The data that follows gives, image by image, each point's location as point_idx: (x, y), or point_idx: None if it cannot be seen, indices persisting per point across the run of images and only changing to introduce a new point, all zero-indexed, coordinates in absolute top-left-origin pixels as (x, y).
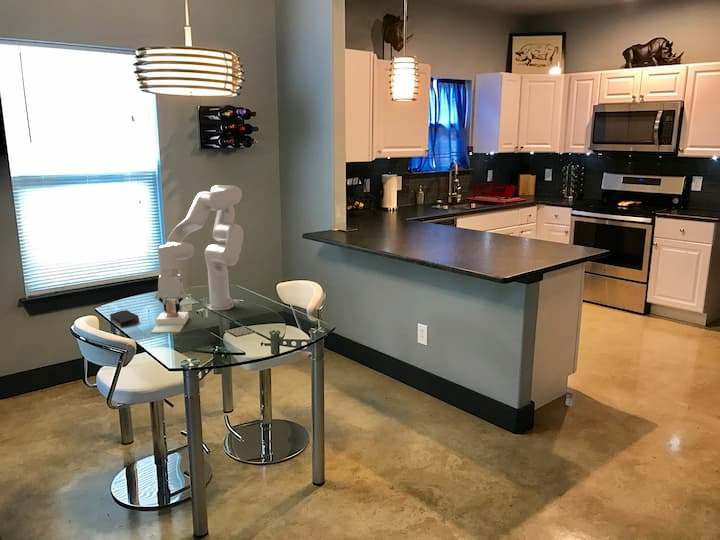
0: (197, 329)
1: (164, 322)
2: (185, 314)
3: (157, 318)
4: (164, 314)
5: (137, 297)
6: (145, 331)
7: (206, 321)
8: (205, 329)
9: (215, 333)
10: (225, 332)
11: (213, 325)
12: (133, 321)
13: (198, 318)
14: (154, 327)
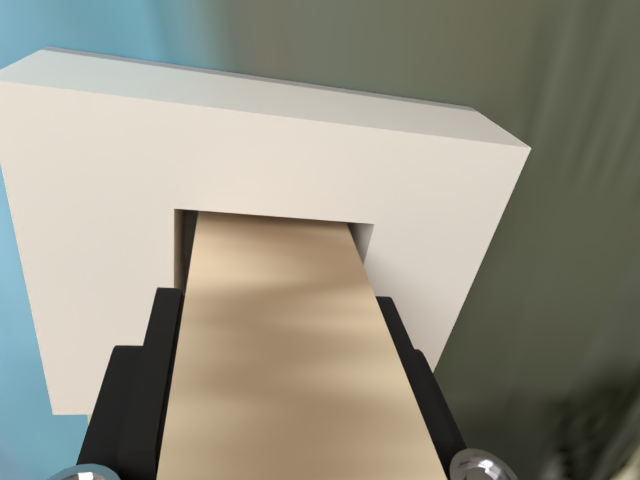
0: (481, 418)
1: None
2: (459, 283)
3: (60, 391)
4: (111, 230)
5: None
6: (11, 432)
7: (623, 247)
8: (535, 421)
9: (566, 477)
10: (626, 466)
11: (625, 354)
12: None
13: (591, 115)
14: (88, 424)
